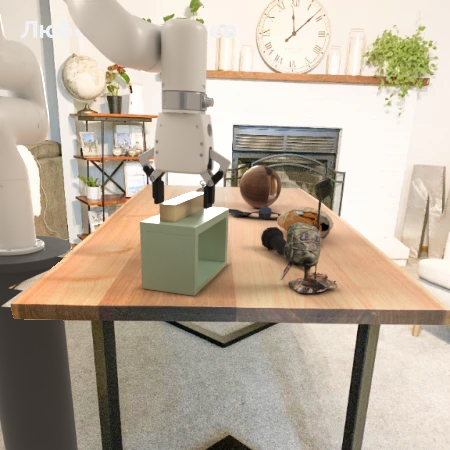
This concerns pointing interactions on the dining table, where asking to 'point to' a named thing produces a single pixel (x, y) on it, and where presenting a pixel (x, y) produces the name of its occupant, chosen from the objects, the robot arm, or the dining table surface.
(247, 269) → the dining table surface
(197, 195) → the stick
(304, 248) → the plant with pod
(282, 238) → the microphone
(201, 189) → the pocket watch
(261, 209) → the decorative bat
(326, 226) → the nautilus
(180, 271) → the shelf
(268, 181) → the wooden sphere
